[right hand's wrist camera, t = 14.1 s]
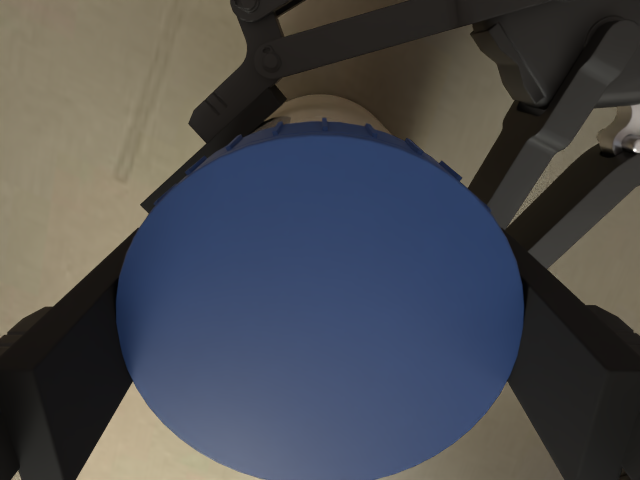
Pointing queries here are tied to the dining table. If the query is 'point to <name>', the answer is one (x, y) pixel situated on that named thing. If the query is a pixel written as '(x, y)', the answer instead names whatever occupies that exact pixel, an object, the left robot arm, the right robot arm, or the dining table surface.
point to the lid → (320, 305)
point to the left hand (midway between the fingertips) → (238, 279)
